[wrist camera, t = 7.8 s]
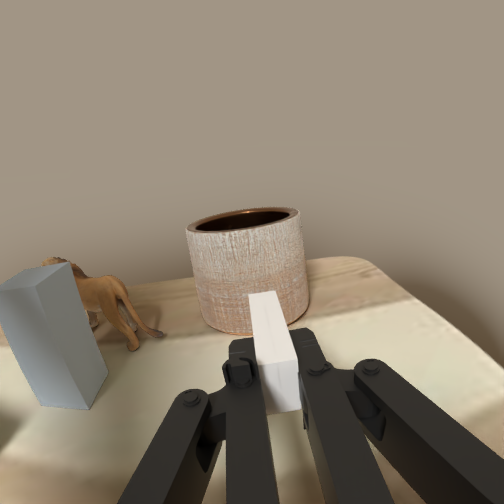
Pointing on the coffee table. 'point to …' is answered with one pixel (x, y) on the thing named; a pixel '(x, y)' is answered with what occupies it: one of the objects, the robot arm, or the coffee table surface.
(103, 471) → the coffee table surface
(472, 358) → the coffee table surface
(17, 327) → the slate block
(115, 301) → the lion figurine
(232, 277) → the planter
